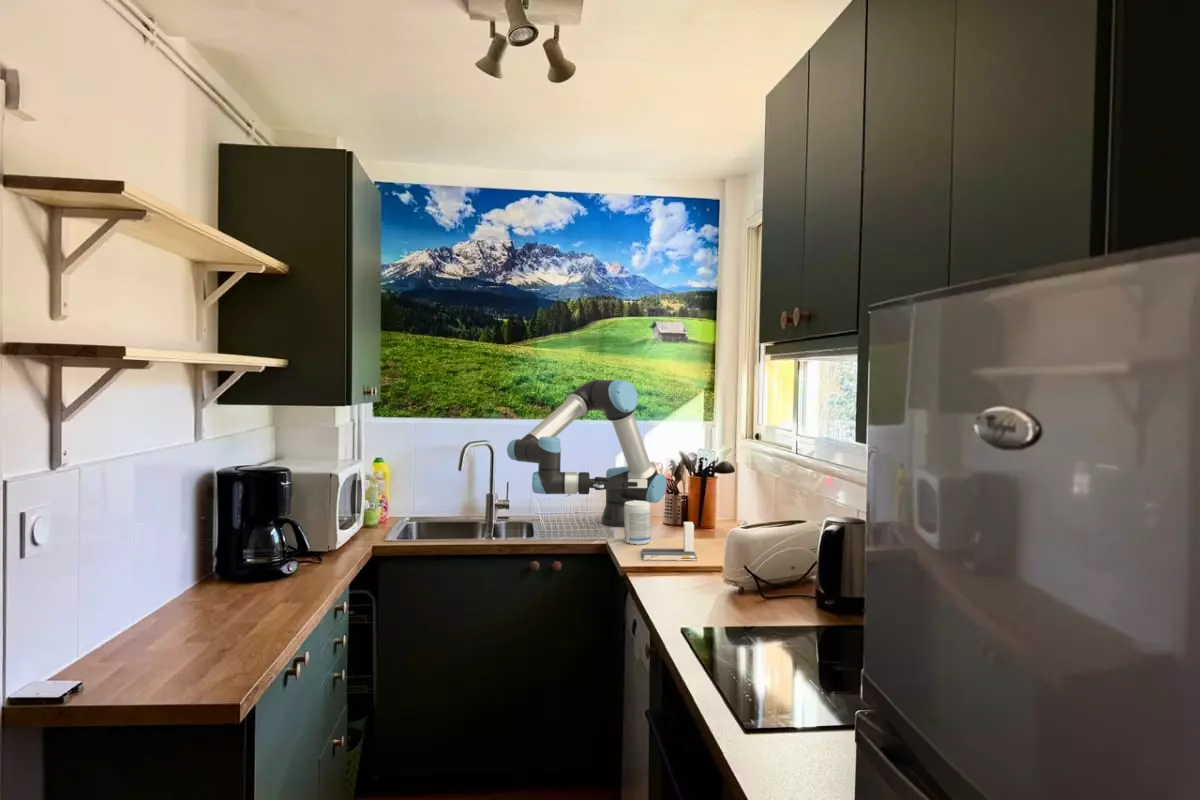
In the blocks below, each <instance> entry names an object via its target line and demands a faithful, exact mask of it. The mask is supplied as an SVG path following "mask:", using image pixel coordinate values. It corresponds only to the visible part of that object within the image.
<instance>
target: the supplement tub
mask: <svg viewBox="0 0 1200 800" xmlns="http://www.w3.org/2000/svg"><path fill="white" fill-rule="evenodd" d="M650 503H651V502H650ZM650 503H649V502H647V501H637V500H634V501H628V502H625V506H624V525H625V526H624V542H625V543H626V542H627V543H626V544H628V543H630V544H629V545H634V544H636V545H635V546H640V545H646V544H649V543H650V542H651V537H652V536H651V504H650Z"/></svg>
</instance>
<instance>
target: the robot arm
mask: <svg viewBox="0 0 1200 800" xmlns="http://www.w3.org/2000/svg"><path fill="white" fill-rule="evenodd" d="M638 396H639V395H638V392H637V390H636V387H635V386H634V384H632V383H631V382H629V381H627V380H622V379H594V380H590V381H587V382H585V383H583V384H582V385H580V386H579V387H577V388H576V389H574V390H573V391H572V392H571V393H570V394H568V395H567V396H566V399H565V401H564V402H563V403H562V404H561V405H559V406H558V407H557V408H556V409H555V410H554V411H552V412H551V413H550V414H549V415H548V416H547V417H546V418H544V419H543V420H542V421H541V422H540V423H539V424H537V425H536V426H535V427H534V428H533V429H531V430H530V431H529V432H528V433H527V434H525V436H523V437H522V438H520V439H519V438H516V439H512V440H510V441H509V442H508V444H507V447H506V448H507V449H506V453H507V456H508V458H509V459H511V460H513V461H517V462H521V463H522V462H523V463H532V464H538V465H537V467H538V470H537V471H534V472H533V473H532V477H531V478H532V481H531V482H532V484H531V487H532V489H531V490H532V492H533V493H534V494H540V495H541V494H542V495H567V496H569V497H570V496H571V495H576V494H578V495H589V494H590V489H594V490H595V491H605V506H604V509H603V512H602V515H601V524H603V525H604V526H608V527H623V528H625V525H624V506H625V502H628V501H647V502H649V503H652V504H653V503H654V504H656V503H658V502H660V501H661V500H662V499H664V498H663V497H665V494H666V492H667V488H668V487H667V486H668V484H667V483H668V482H667V477H666V475H664V474H662V473H659V472H658V470H657V468H656V466H655V464H653V463H651V462H650V459H649V457H648V453H647V450H646V448H645V447H646V446H645V445H644V441H643V438H642V435H641V432H640V430H639V428H638V425H637V421H636V418H635V415H634V414H635V412H636V407H637V406H638V398H639V397H638ZM591 411H602V412H604V415H605V418H606V420H607V421H610V422H612V425H613V428H614V431H615V434H616V436H617V440H618V442H619V445H620V448H621V451H622V453H623V456H624V458H625V462H626V464H627V466H618V467H611V468H608V469H607V470H606V473H605V477H603V476H594V478H590V473H589V472H588V471H580V472H579V473H578V472H577V471H561V461H562V460H561V456H562V455H561V452H562V448H561V439H560V438H559V437H557V436H558V435H560V434H561V433H563V431H564V430H565V429H566V428H567V427H568V426H569V425H571V424H572V423H573V422H574V421H575V420H577V419H578V418H579V417H582V416H585V415H586V414H587V413H588V412H591Z"/></svg>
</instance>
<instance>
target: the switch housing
mask: <svg viewBox="0 0 1200 800" xmlns="http://www.w3.org/2000/svg"><path fill="white" fill-rule="evenodd" d="M642 555H643V557H642V559H643V558H653V557H669V558H681V559H697V560H698V558H697V555H696V553H695V550H694V551H693V552H684V548H650V547H649V548H645V547H644V548H642V549H641V556H642Z"/></svg>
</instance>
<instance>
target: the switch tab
mask: <svg viewBox="0 0 1200 800" xmlns="http://www.w3.org/2000/svg"><path fill="white" fill-rule="evenodd" d="M683 549H684V552H693V551H694V552H695V524H694V522H693V521H683Z"/></svg>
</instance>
